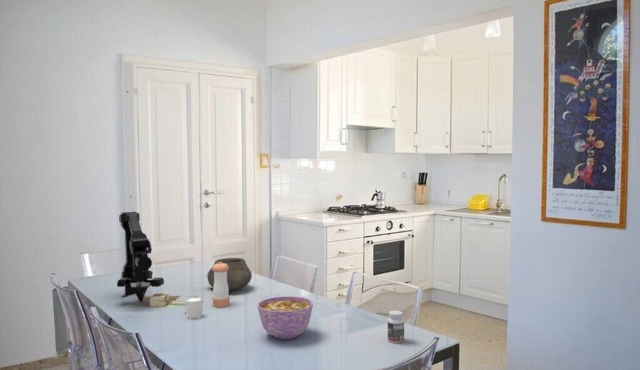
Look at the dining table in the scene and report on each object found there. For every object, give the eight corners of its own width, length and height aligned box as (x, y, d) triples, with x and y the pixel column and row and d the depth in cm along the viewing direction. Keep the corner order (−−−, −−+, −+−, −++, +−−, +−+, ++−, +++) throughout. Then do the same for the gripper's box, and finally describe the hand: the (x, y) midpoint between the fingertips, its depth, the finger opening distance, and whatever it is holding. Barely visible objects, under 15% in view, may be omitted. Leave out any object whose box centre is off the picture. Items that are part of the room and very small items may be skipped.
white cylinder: (198, 319, 205) (198, 302, 205) (182, 318, 206) (182, 301, 206) (206, 314, 212) (205, 297, 211) (190, 313, 213) (190, 296, 213)
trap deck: (143, 299, 237) (143, 295, 236) (198, 299, 235) (197, 295, 235) (126, 310, 219) (126, 307, 218) (185, 310, 217) (185, 307, 217)
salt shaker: (225, 308, 220) (224, 263, 219) (210, 307, 222) (208, 263, 221) (232, 303, 227) (231, 260, 226) (216, 302, 229) (215, 260, 228)
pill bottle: (386, 338, 180) (385, 310, 180) (402, 337, 181) (401, 309, 180) (389, 343, 175) (389, 315, 174) (406, 343, 175) (405, 314, 175)
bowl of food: (284, 322, 199) (284, 293, 198) (324, 333, 186) (324, 301, 186) (246, 337, 183) (245, 305, 183) (287, 349, 171) (286, 315, 170)
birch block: (155, 302, 225) (155, 293, 225) (168, 302, 225) (168, 293, 225) (150, 306, 219) (150, 297, 219) (164, 306, 219) (163, 296, 219)
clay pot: (200, 289, 253) (199, 259, 252) (238, 282, 266) (238, 254, 265) (220, 298, 235) (219, 266, 235) (260, 291, 248) (259, 260, 248)
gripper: (167, 262, 229) (168, 296, 230) (127, 262, 230) (128, 296, 231) (158, 267, 218) (159, 303, 219) (115, 267, 219) (117, 303, 220)
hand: (141, 301), depth 223 cm, fingers closed
